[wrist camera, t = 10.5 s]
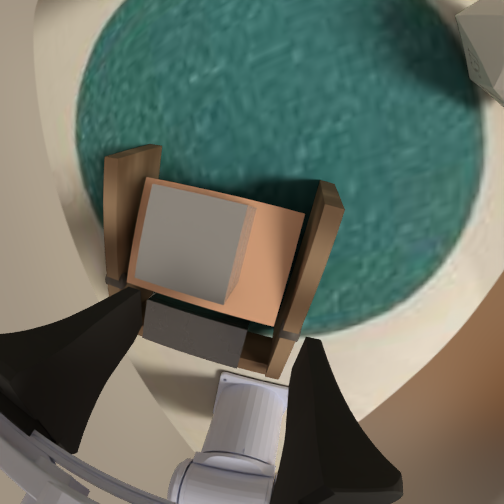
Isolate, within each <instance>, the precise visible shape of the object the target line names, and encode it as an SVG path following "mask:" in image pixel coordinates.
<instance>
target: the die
mask: <svg viewBox="0 0 504 504" xmlns="http://www.w3.org/2000/svg"><path fill="white" fill-rule="evenodd" d="M455 17H456V21H457V24H458V28H459V31H460V35H461V39H462V43H463V48H464V52H465V57H466V62H467V67H468V73H469V79H470V80H472V81H473V82H474V83H476V84H477V85H478V86H479V87H481V88H482V89H483V90H484V91H486V92H487V93H488V94H490V95H491V96H492V97H493V98H494V99H495V100H496V101H497V102H498V103H499V104H501V105H502V106H503V107H504V0H479V1H477V2H476V3H474V4H472V5H471V6H469V7H467V8H466V9H464V10H463V11H461V12H460V13H458V14H456V15H455Z"/></svg>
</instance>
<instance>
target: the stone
mask: <svg viewBox="0 0 504 504" xmlns="http://www.w3.org/2000/svg"><path fill="white" fill-rule="evenodd" d="M256 209H257V208H255V207H252V206H249V205H245V204H241V203H237V202H232V201H228V200H224V199H220V198H216V197H211V196H207V195H203V194H198V193H194V192H189V191H185V190H180V189H175V188H171V187H166V186H161V185H157V184H152V188H151V193H150V197H149V201H148V206H147V211H146V215H145V220H144V225H143V230H142V236H141V241H140V247H139V252H138V258H137V264H136V271H135V278H138V279H141V280H144V281H147V282H150V283H153V284H156V285H159V286H162V287H165V288H168V289H171V290H174V291H178V292H181V293H184V294H187V295H190V296H194V297H197V298H200V299H204V300H207V301H211V302H214V303H217V304H221V305H224V304H225V302H226V301H227V299H228V297H229V296H230V294H231V293H232V291H233V290H234V288H235V287H236V285H237V284H238V281H239V277H240V273H241V269H242V265H243V261H244V257H245V253H246V249H247V245H248V241H249V237H250V233H251V229H252V225H253V221H254V217H255V213H256Z"/></svg>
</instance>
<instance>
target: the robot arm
mask: <svg viewBox="0 0 504 504" xmlns="http://www.w3.org/2000/svg"><path fill="white" fill-rule="evenodd" d="M142 325H143V324H142V309H141V291H140V290H138V289H135V288H132V287H127V288H125V289H123V290H121V291H119V292H117V293H115V294H113V295H111V296H110V297H108V298H106V299H104V300H102V301H100V302H98V303H96V304H95V305H93V306H91V307H89V308H87V309H85V310H83V311H80V312H78V313H76V314H74V315H72V316H70V317H68V318H65V319H62V320H60V321H57V322H54V323H51V324H48V325H45V326H41V327H37V328H34V329H30V330H26V331H20V332H14V333H6V334H0V468H1V470H2V471H3V472H4V473H5V474H6V475H8V476H9V477H10V478H11V479H12V480H13V481H14V482H15V483H16V484H17V485H18V486H20V487H21V488H22V489H23V490H24V491H25V492H26V495H25V496H24V498H23V501H22V502H21V504H99V503H98V502H96V501H94V500H92V499H90V498H88V497H87V496H88V494H89V492H90V491H89V489H87V488H86V487H84V486H83V485H81V484H80V483H79V482H78V481H76V480H75V479H74V478H73V477H72V476H71V475H69V474H68V473H66V472H64V471H63V470H62V469H60V468H59V467H58V466H56V464H55V462H56V463H58V464H59V465H61V466H62V467H64V468H66V469H67V470H69V471H70V472H72V473H74V474H75V475H77V476H79V477H80V478H82V479H84V480H85V481H87V482H89V483H91V484H93V485H95V486H96V487H98V488H100V489H102V490H104V491H106V492H108V493H110V494H112V495H114V496H116V497H119V498H120V499H123V500H125V501H127V502H129V503H132V504H391V503H393V502H395V501H397V500H399V499H400V498H401V497H402V496H403V482H402V476H401V473H400V471H399V470H397V468H395V467H394V466H393V465H392V464H391V463H390V462H389V461H388V460H387V459H386V458H385V457H384V456H383V455H382V454H381V452H380V451H379V450H378V449H377V448H376V447H375V445H374V444H373V443H372V442H371V440H370V439H369V438H368V436H367V435H366V434H365V432H364V431H363V430H362V428H361V427H360V425H359V424H358V422H357V421H356V419H355V417H354V416H353V414H352V412H351V411H350V409H349V407H348V405H347V403H346V401H345V399H344V397H343V395H342V393H341V391H340V389H339V387H338V384H337V382H336V380H335V377H334V375H333V373H332V370H331V367H330V365H329V362H328V359H327V357H326V354H325V351H324V348H323V345H322V342H321V340H319V339H314V338H310V337H306V338H305V340H304V343H303V345H302V347H301V349H300V352H299V354H298V356H297V358H296V361H295V363H294V365H293V367H292V372H291V377H290V383H289V387H284V386H280V385H275V384H271V383H267V382H262V381H258V380H254V379H250V378H247V377H243V376H239V375H235V374H232V373H228V372H222V373H221V376H220V381H219V385H218V390H217V395H216V400H215V404H214V409H213V414H214V415H213V418H212V421H211V424H210V427H209V430H208V433H207V436H206V439H205V442H204V445H203V448H202V451H201V452H196V453H195V456H194V459H191V458H188V459H186V460H184V461H183V462H181V463H180V464H179V465H178V466H177V467H176V469H175V471H174V473H173V475H172V478H171V481H170V484H169V488H168V500H166V499H164V498H161V497H158V496H155V495H153V494H150V493H148V492H145V491H143V490H140V489H138V488H136V487H133V486H131V485H129V484H126V483H124V482H122V481H120V480H118V479H116V478H114V477H112V476H110V475H108V474H106V473H104V472H102V471H100V470H98V469H96V468H94V467H92V466H90V465H89V464H87V463H85V462H83V461H82V460H80V459H78V458H77V457H75V456H73V455H72V454H75V453H77V452H78V448H79V445H80V442H81V439H82V436H83V433H84V430H85V427H86V425H87V422H88V420H89V417H90V415H91V412H92V410H93V408H94V406H95V403H96V401H97V399H98V397H99V395H100V393H101V391H102V389H103V387H104V385H105V384H106V382H107V380H108V379H109V377H110V376H111V374H112V373H113V371H114V370H115V368H116V367H117V366H118V364H119V363H120V361H121V360H122V358H123V357H124V356H125V354H126V353H127V351H128V350H129V348H130V347H131V345H132V344H133V342H134V340H135V339H136V337H137V335H138V333H139V331H140V329H141V327H142ZM286 409H287V419H286V433H285V441H284V446H283V451H282V456H281V461H280V466H279V470H278V474H276V475H275V479H274V474H275V468H276V466H275V459H276V453H277V447H278V441H279V434H280V428H281V421H282V415H283V414H284V412H285V410H286ZM54 461H55V462H54ZM273 480H274V483H273Z"/></svg>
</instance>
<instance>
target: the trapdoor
mask: <svg viewBox="0 0 504 504" xmlns="http://www.w3.org/2000/svg"><path fill="white" fill-rule="evenodd" d="M152 184H157V185H161V186H166V187H171V188H175V189H180V190H185V191H189V192H194V193H198V194H203V195H207V196H211V197H216V198H220V199H224V200H228V201H232V202H237V203H241V204H245V205H249V206H252V207H255V208H257V209H256V213H255V217H254V221H253V225H252V229H251V233H250V237H249V241H248V245H247V249H246V253H245V257H244V261H243V265H242V269H241V273H240V277H239V281H238V284H237V285H236V287H235V288H234V290H233V291H232V293H231V294H230V296H229V297H228V299H227V301H226V302H225V304H224V305H221V304H217V303H214V302H211V301H207V300H204V299H200V298H197V297H194V296H190V295H187V294H184V293H181V292H178V291H174V290H171V289H168V288H165V287H162V286H159V285H156V284H153V283H150V282H147V281H144V280H141V279H138V278H135V271H136V264H137V258H138V252H139V247H140V241H141V236H142V230H143V225H144V220H145V215H146V211H147V206H148V201H149V197H150V193H151V188H152ZM304 216H305V214H304V213H300V212H296V211H293V210H289V209H285V208H281V207H277V206H273V205H269V204H266V203H262V202H258V201H253V200H249V199H245V198H241V197H237V196H233V195H228V194H224V193H220V192H215V191H211V190H207V189H202V188H198V187H193V186H188V185H184V184H179V183H174V182H169V181H164V180H159V179H154V178H149V177H146V181H145V185H144V189H143V193H142V198H141V202H140V207H139V212H138V217H137V222H136V227H135V232H134V238H133V244H132V249H131V256H130V262H129V269H128V276H127V282H128V283H131V284H133V285H136V286H139V287H142V288H145V289H148V290H151V291H154V292H157V293H156V294H155V295H153V296H152V297H150V298H148V299H147V304H146V311H145V319H144V327H143V336H142V338H145V339H148V340H150V341H153V342H156V343H158V344H161V345H164V346H167V347H170V348H172V349H175V350H178V351H181V352H184V353H187V354H190V355H193V356H197V357H200V358H203V359H206V360H209V361H213V362H216V363H219V364H223V365H226V366H230V367H233V368H237V366H238V363H239V359H240V356H241V352H242V349H243V345H244V342H245V338H246V334H247V331H248V327H249V323H250V321H254V322H258V323H262V324H266V325H269V326H273V327H274V324H275V320H276V317H277V314H278V310H279V307H280V303H281V300H282V296H283V293H284V290H285V286H286V283H287V279H288V275H289V272H290V268H291V265H292V261H293V257H294V254H295V250H296V246H297V243H298V239H299V235H300V231H301V227H302V223H303V220H304Z"/></svg>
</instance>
